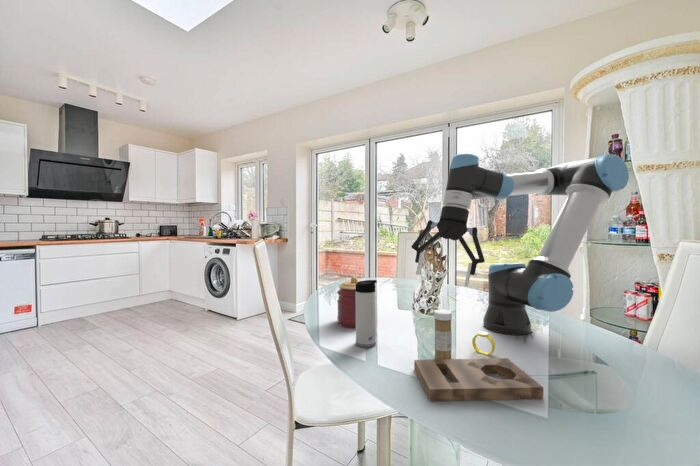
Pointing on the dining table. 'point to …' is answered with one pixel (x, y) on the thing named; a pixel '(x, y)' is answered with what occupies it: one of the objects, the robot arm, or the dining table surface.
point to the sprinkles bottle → (443, 334)
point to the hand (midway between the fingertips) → (441, 280)
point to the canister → (347, 303)
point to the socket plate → (475, 380)
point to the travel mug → (365, 313)
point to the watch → (485, 334)
